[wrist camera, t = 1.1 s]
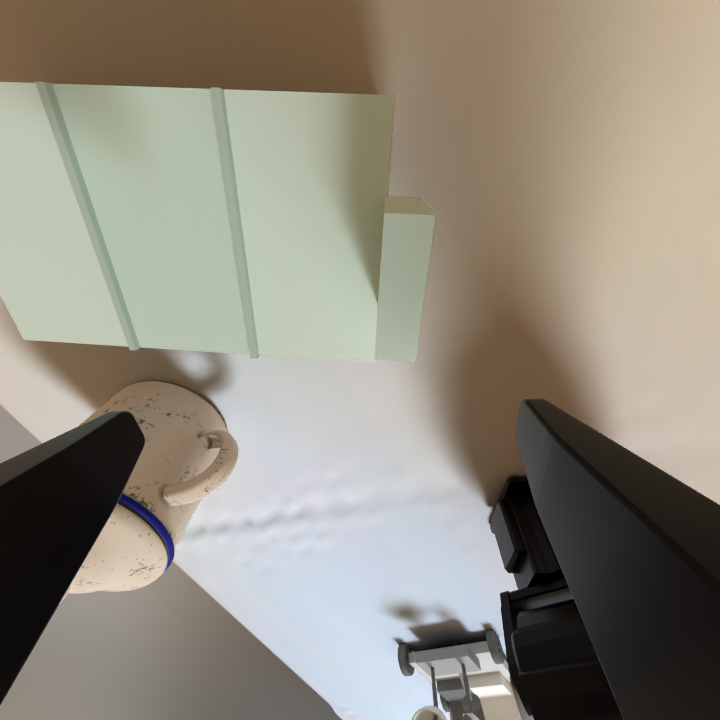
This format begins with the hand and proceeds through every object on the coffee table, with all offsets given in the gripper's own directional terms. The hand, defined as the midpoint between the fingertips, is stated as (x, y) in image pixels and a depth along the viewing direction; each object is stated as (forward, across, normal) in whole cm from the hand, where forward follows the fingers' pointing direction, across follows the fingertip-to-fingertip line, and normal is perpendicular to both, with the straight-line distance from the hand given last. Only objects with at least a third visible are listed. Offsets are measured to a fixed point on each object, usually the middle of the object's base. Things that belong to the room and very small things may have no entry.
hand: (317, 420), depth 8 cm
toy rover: (+13, -9, +49) cm, 51 cm away
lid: (+8, +6, -3) cm, 10 cm away
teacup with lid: (+12, +13, +10) cm, 21 cm away
